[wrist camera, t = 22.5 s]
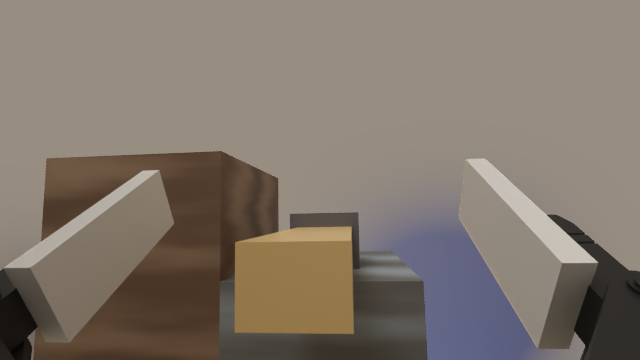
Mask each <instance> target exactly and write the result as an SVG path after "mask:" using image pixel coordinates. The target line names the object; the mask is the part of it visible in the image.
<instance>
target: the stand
mask: <svg viewBox="0 0 640 360" xmlns="http://www.w3.org/2000/svg"><path fill="white" fill-rule="evenodd" d="M149 170H159V171H160V175H161V178H162V182H163V185H164V189H165V192H166V196H167V199H168V203H169V206H170V210H171V213H172V217H173V220H174V224H173V226H172V227H171V228H170V229H169V230H168V231H167V232H166V234H165V235H164V236H163V237H162V238H161V239H160V240H159V241H158V243H157V244H156V245H155V246H154V247H153V248H152V249H151V251H150V252H149V253H148V254H147V255H146V256H145V257H144V259H143V260H142V261H141V262H140V263H139V264H138V265H137V266H136V268H135V269H134V270H133V271H132V272H131V273H130V274H129V276H128V277H127V278H126V279H125V280H124V281H123V282H122V284H121V285H120V286H119V287H118V288H117V289H116V290H115V291H114V293H113V294H112V295H111V296H110V297H109V298H108V299H107V301H106V302H105V303H104V304H103V305H102V306H101V307H100V309H99V310H98V311H97V312H96V313H95V314H94V315H93V316H92V318H91V319H90V320H89V321H88V322H87V323H86V324H85V326H84V327H83V328H82V329H81V330H80V331H79V332H78V334H77V335H76V336H75V337H74V338H73V339H72V340H71V342H70V343H56V342H45V340H44V339H43V337H42V335H41V333H40V332H39V330H38V328H36V329H35V343H34V359H33V360H427V342H426V323H425V304H424V285H423V281H422V279H420V278H419V277H418V276H417V275H416V274H415V273H414V272H413V271H412V270H411V269H410V268H409V267H408V266H407V265H405V263H404V262H403V261H402V260H401V259H399V258H398V257H397V256H396V255H395V254H394V253H393V252H392V251H359V255H360V269H353V311H354V334H313V333H235V242H239V241H243V240H247V239H251V238H255V237H260V236H264V235H268V234H272V233H276V232H278V178H276V177H274V176H272V175H270V174H267V173H265V172H263V171H261V170H259V169H257V168H255V167H253V166H251V165H249V164H247V163H245V162H243V161H240V160H238V159H236V158H234V157H232V156H229V155H228V154H226V153H223V152H222V151H218V152H194V153H169V154H147V155H146V154H144V155H121V156H96V157H71V158H48V159H47V161H46V178H45V191H44V206H43V221H42V237H41V241H43V240H44V239H46V238H47V237H49V236H50V235H51V234H53V233H54V232H56V231H57V230H59V229H60V228H61V227H63V226H64V225H66V224H67V223H69V222H70V221H71V220H73V219H74V218H76V217H77V216H79V215H80V214H82V213H83V212H84V211H86V210H87V209H89V208H90V207H92V206H93V205H94V204H96V203H97V202H99V201H100V200H102V199H103V198H104V197H106V196H107V195H109V194H110V193H112V192H113V191H114V190H116V189H117V188H119V187H120V186H122V185H123V184H124V183H126V182H127V181H129V180H130V179H132V178H133V177H134V176H136V175H137V174H139V173H140V172H142V171H149Z"/></svg>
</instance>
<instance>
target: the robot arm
mask: <svg viewBox="0 0 640 360" xmlns="http://www.w3.org/2000/svg"><path fill="white" fill-rule="evenodd" d="M458 218H459V219H460V221H461V223H462V224H463V226H464V228H465V229H466V231H467V233H468V234H469V236H470V238H471V239H472V241H473V242H474V244H475V246H476V247H477V249H478V251H479V253H480V254H481V255H482V257H483V259H484V261H485V262H486V264H487V265H488V267H489V269H490V271H491V272H492V274H493V275H494V277H495V279H496V281H497V282H498V284H499V285H500V287H501V289H502V291H503V292H504V294H505V295H506V297H507V299H508V300H509V302H510V304H511V305H512V307H513V309H514V310H515V312H516V314H517V315H518V317H519V319H520V320H521V322H522V324H523V325H524V327H525V329H526V330H527V332H528V334H529V335H530V337H531V339H532V340H533V342H534V343H535V345H536V347H537V349H569V347H570V345H571V341H572V339H573V336H574V332H576V334H577V335H578V336H579V338H580V339H581V340H582V341H583V342H584V344H585V348H584V351H583V354H582V356H581V359H580V360H640V272H639V271H629V270H628V269H626V268H625V267H624V266H623V265H622V264H620V263H619V262H618V261H617V260H616V259H615V258H613V257H612V256H611V255H610V254H609V253H608V252H606V251H605V250H604V249H603V248H602V247H600V246H599V245H598V244H595V243H594V241H593V240H592V239H591V238H590V237H589V236H587V235H585V233H584V232H583V231H582V230H580V229H579V228H578V227H577V226H575V224H573V223H571V222H570V221H568V220H566V219H563V218H562V217H560V216H558V215H546V214H545V213H544V212H543V211H541V210H540V209H539V208H538V207H537V206H536V205H535V204H534V203H533V202H532V201H531V200H530V199H529V198H527V197H526V196H525V195H524V194H523V193H522V192H521V191H520V190H519V189H518V188H517V187H515V186H514V185H513V184H512V183H511V182H510V181H509V180H508V179H507V178H506V177H505V176H503V175H502V174H501V173H500V172H499V171H498V170H497V169H496V168H495V167H494V166H493V165H492V164H490V163H489V162H488V161H487V160H486V159H465V167H464V176H463V184H462V192H461V200H460V209H459V217H458ZM173 224H174V220H173V217H172V213H171V210H170V206H169V203H168V199H167V196H166V192H165V189H164V185H163V182H162V178H161V175H160V171H159V170H149V171H142V172H140V173H139V174H137V175H136V176H134V177H133V178H132V179H130V180H129V181H127V182H126V183H124V184H123V185H122V186H120V187H119V188H117V189H116V190H114V191H113V192H112V193H110V194H109V195H107V196H106V197H104V198H103V199H102V200H100V201H99V202H97V203H96V204H94V205H93V206H92V207H90V208H89V209H87V210H86V211H84V212H83V213H82V214H80V215H79V216H77V217H76V218H74V219H73V220H71V221H70V222H69V223H67V224H66V225H64V226H63V227H61V228H60V229H59V230H57V231H56V232H54V233H53V234H51V235H50V236H49V237H47V238H46V239H44V240H43V241H41V242H40V243H39V244H37V245H36V246H34V247H33V248H32V249H30V250H29V251H27V252H26V253H25V254H23V255H22V256H20V257H18V258H17V259H16V260H14V261H13V262H11V263H10V264H9V265H7V266H6V267H4V269H2V270H1V271H0V360H31V352H32V346H31V343H30V341H29V340H28V338H27V337H28V336H29V335H30V334H31V333H32V332H33V331H34V330H35V329H36V328H38V330H39V332H40V333H41V335H42V337H43V339H44V340H45V342H56V343H70V342H71V340H72V339H73V338H74V337H75V336H76V335H77V334H78V332H79V331H80V330H81V329H82V328H83V327H84V326H85V324H86V323H87V322H88V321H89V320H90V319H91V318H92V316H93V315H94V314H95V313H96V312H97V311H98V310H99V309H100V307H101V306H102V305H103V304H104V303H105V302H106V301H107V299H108V298H109V297H110V296H111V295H112V294H113V293H114V291H115V290H116V289H117V288H118V287H119V286H120V285H121V284H122V282H123V281H124V280H125V279H126V278H127V277H128V276H129V274H130V273H131V272H132V271H133V270H134V269H135V268H136V266H137V265H138V264H139V263H140V262H141V261H142V260H143V259H144V257H145V256H146V255H147V254H148V253H149V252H150V251H151V249H152V248H153V247H154V246H155V245H156V244H157V243H158V241H159V240H160V239H161V238H162V237H163V236H164V235H165V234H166V232H167V231H168V230H169V229H170V228H171V227H172V226H173Z"/></svg>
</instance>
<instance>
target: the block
mask: <svg viewBox="0 0 640 360" xmlns="http://www.w3.org/2000/svg"><path fill="white" fill-rule="evenodd" d="M353 269H360V255H359V226H358V213H315V214H314V213H313V214H290V229H289V230H285V231H280V232H276V233H272V234H268V235H264V236H260V237H255V238H251V239H247V240H243V241H239V242H235V333H313V334H354V311H353Z"/></svg>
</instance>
